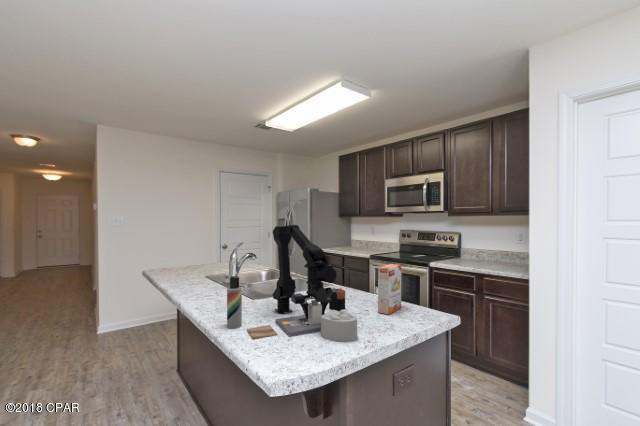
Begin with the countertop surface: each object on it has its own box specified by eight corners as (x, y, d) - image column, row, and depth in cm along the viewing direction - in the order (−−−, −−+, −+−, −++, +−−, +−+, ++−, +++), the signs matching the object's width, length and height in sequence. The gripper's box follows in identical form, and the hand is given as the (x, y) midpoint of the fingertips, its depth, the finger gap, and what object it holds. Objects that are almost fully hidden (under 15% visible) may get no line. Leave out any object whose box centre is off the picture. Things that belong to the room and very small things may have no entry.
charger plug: (307, 322, 127) (307, 299, 127) (316, 321, 129) (316, 298, 129) (312, 326, 122) (312, 302, 123) (321, 325, 124) (321, 301, 124)
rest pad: (246, 330, 119) (246, 328, 119) (269, 326, 123) (269, 325, 123) (252, 339, 110) (252, 337, 110) (277, 335, 113) (277, 333, 113)
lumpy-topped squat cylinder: (331, 328, 120) (331, 306, 120) (362, 334, 114) (362, 311, 114) (317, 337, 111) (317, 313, 112) (350, 344, 105) (349, 319, 105)
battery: (340, 311, 142) (340, 289, 142) (328, 309, 146) (328, 288, 146) (345, 309, 146) (345, 288, 146) (333, 307, 150) (333, 286, 150)
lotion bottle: (228, 324, 126) (228, 275, 126) (242, 323, 127) (242, 274, 127) (225, 328, 120) (225, 277, 121) (240, 328, 121) (240, 277, 121)
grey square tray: (275, 322, 127) (275, 317, 127) (323, 315, 137) (323, 310, 137) (289, 336, 112) (289, 330, 112) (342, 327, 121) (342, 321, 121)
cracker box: (389, 315, 136) (389, 268, 136) (377, 313, 139) (377, 266, 140) (402, 308, 147) (401, 264, 147) (390, 306, 150) (390, 263, 151)
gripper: (300, 285, 115) (300, 327, 114) (344, 280, 123) (344, 320, 122) (290, 280, 125) (290, 318, 124) (331, 276, 133) (331, 312, 132)
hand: (314, 317), depth 126 cm, fingers open, 6 cm apart
